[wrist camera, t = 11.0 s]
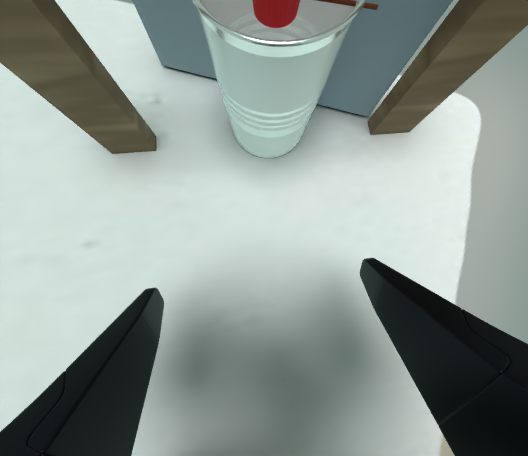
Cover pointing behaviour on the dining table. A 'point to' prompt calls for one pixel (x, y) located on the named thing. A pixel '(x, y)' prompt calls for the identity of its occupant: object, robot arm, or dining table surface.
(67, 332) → the dining table surface
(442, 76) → the door frame
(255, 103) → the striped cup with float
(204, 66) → the door
